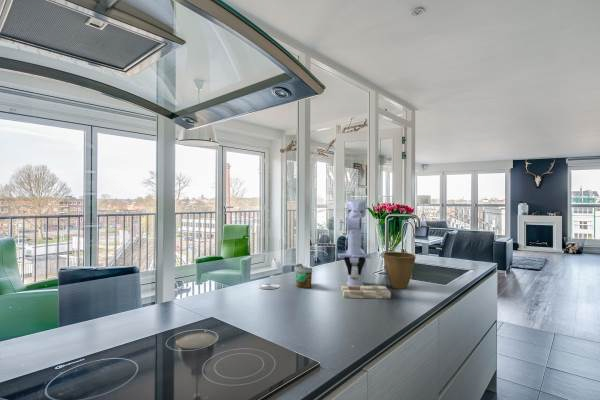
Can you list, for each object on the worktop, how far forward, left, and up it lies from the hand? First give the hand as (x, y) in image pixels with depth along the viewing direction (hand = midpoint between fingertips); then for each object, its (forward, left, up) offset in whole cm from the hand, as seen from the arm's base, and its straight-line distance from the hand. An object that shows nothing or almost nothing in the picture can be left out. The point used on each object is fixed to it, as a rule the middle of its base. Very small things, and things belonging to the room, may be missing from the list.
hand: (354, 274), depth 142 cm
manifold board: (0, +5, -9) cm, 10 cm away
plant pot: (-13, +24, -9) cm, 29 cm away
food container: (-12, -24, -9) cm, 29 cm away
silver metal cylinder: (0, 0, -2) cm, 2 cm away
